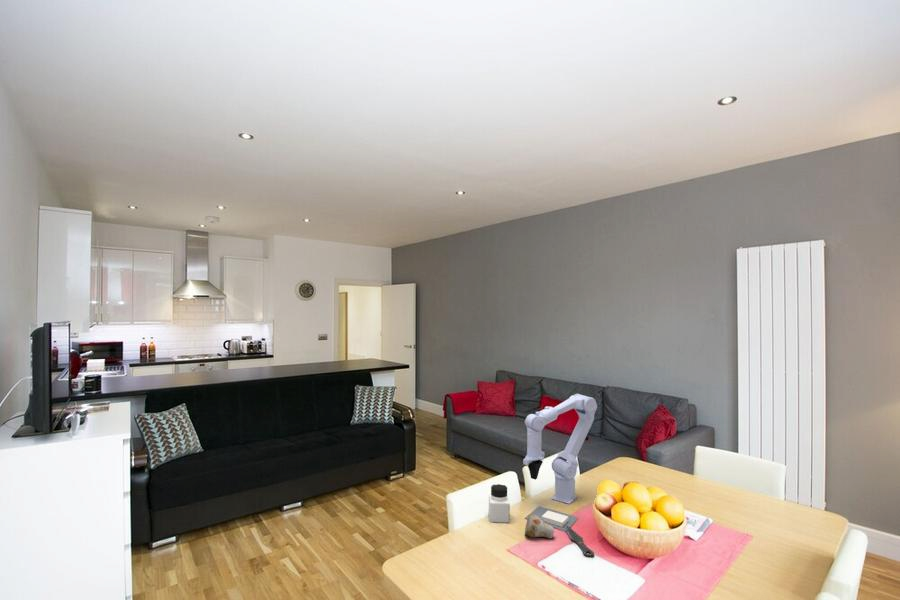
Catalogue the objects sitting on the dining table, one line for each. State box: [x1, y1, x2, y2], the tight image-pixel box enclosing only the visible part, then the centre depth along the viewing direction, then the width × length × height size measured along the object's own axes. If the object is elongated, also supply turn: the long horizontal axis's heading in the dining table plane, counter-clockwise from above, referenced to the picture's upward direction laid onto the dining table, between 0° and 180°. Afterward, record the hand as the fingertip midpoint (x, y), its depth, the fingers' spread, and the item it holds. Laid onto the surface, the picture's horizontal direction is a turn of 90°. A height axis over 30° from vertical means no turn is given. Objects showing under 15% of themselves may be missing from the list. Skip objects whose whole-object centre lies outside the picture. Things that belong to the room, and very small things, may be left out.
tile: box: [542, 511, 569, 527], centre depth 155 cm, size 2×8×6 cm
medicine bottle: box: [488, 483, 511, 524], centre depth 158 cm, size 7×7×12 cm
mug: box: [524, 513, 555, 539], centre depth 145 cm, size 8×10×10 cm
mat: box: [524, 505, 579, 533], centre depth 158 cm, size 13×16×1 cm
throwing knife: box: [565, 525, 595, 558], centre depth 142 cm, size 4×20×1 cm, turn 8°
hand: (534, 478), depth 171 cm, fingers closed
